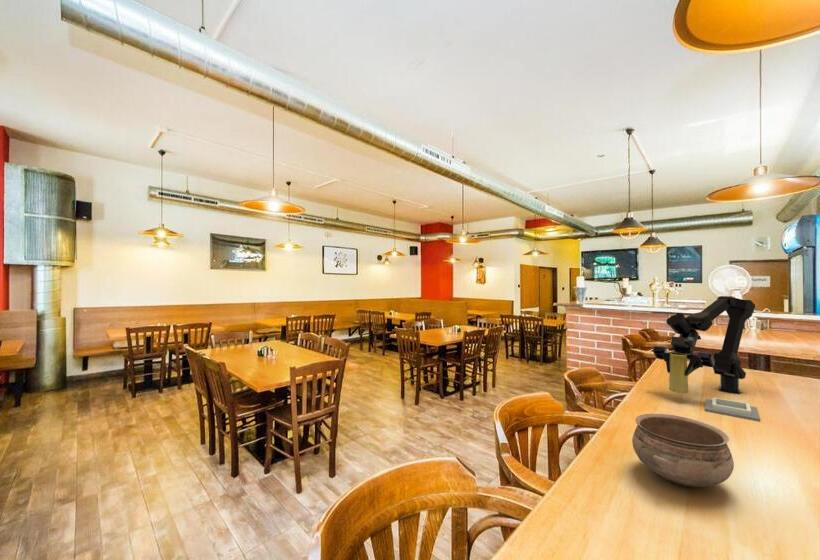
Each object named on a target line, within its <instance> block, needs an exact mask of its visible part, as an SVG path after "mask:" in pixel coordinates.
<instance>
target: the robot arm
mask: <svg viewBox="0 0 820 560" xmlns="http://www.w3.org/2000/svg"><path fill="white" fill-rule="evenodd" d="M755 310H756V304H755V303H754V302H753V301H752V300H750V299H743V298H738V297H735V296H728V295H721V296H718V297H717V299H716V300H714V301H713V302H712V303H711V304H709V305H707V307H705V308H704V309H703V310H701V311H700V312H695V313H692V314H689V315H687V316H686V317H685V315H684V314H683V312H676V314H673V315H671V316H669V317H668V318H667V319H666V321H665V322H666V324H667V325H668V326H669V328H670V329H671V330H672V331H673V332H674V333H675V334H677V335H678V336H671V340H670V346H672V347H671V348H672V350H669V349H668V348H667V347H666V346H660V345H654V346H653V348H652V353H653V355H654V356H655V358H656V359H657V360H663V361H664V362H665V365H666V371H667V373H670V353H673V352H676V353H684V354H686V355H687V360H689V362H688V363H687V369H686V373H685V375H686V376H688V377H689V375H690V374H692V373H693V372H695V371H696V370H697V369H699V368H703V367H708V368H712V370H713V373H714V375H719V378H720V385H719V386H718V390H719V391H720V392H728V393H734V394H738V395H740V394H741V389H740V388H739V387H740V385H739V383H740V380H744V379H745V378H746V376H747V375H746V374H747V373H746V372H745V370H744V369H743V368H742V366H741V363H742V361H741V359H740V357H739V355H738V353H739V348H740V344H741V341H742V335H743V332H744V329H745V324H746V323H745V322H747V320H748V319H750V318H751V317H752V316H753V314H754V311H755ZM724 312H726V315H728V318H729V319H728V322H727V327H726V331H725V335H724V340H723V343H722V346H721V350H720V351H719V352H714V354H712V353H711V352H705V351H698V352H697V354H694V352H696V344H697V343H698V342H697V341H698V340H702V338H701V335H700V334H699V332H698V331H701V332H706V331H708V330H709V329H710V328H711V327H712V326H713V321H714V320H715V319H716V318H717V317H719V316H720V315H721V314H723V313H724Z"/></svg>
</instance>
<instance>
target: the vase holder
mask: <svg viewBox="0 0 820 560" xmlns="http://www.w3.org/2000/svg"><path fill="white" fill-rule="evenodd" d="M704 412H708V413H714V414H719V415H723V416H724V415H725V416H729V417H734V418H740V419H745V420H751V421H756V422H761V418H760V414H759V410H758V407H757V406H751V405H750V403H748V402H743V401H737V400H732V399H725V398H719V397H713V396H712V399H710V398H705V404H704Z"/></svg>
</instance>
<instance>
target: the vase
mask: <svg viewBox="0 0 820 560" xmlns="http://www.w3.org/2000/svg"><path fill="white" fill-rule="evenodd" d="M687 367H688V359H687V355H686V354H684V353H676V352H673V353H670V372H669V374H668V375H669V377H668V381H669V382H668V384H669V385H668V390H669V391H671V392H674V393H677V394H678V393H679V394H688V393H689V382H688V381H689V380H688V379H689V378H688V377H689V375H688V376H686V375H685V373H686V369H687Z"/></svg>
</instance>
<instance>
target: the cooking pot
mask: <svg viewBox="0 0 820 560" xmlns="http://www.w3.org/2000/svg"><path fill="white" fill-rule="evenodd" d="M635 423H636V427H635V429H634V432H633V435H632V437H631V438H632V439H631V443H632V447H633V451H634V453H635V454H636V456H637V458H638V459H639V460H640V462H641V463H642V464H643V465H645V466H646V467H647V468H648V470H649V469H650V471H652V472H654V473H655V474H657V475H658V476H659V477H662V478H663V479H665V480H666V481H667V482H669V483H671V484H673V485H676V486H679V487H683V488H690V487H691V488H699V487H700V488H703V487H713V486H717V485H719V484H722V483H724V482H725V481H727V480H728V479H729V478H730V476H732V473H733V471H734V469H735V468H734V467H735V462H734V457H733V456H732V452H731V449H730V448H729V445H728V443H729V441H730V437H729V436H728V435H727V433H726V432H724V431H723V430H721V429H719V428H718V427H716V426H713V425H711V424H709V423H706V422H704V421H699V420H696V419H693V418H689V417H685V416H679V415H674V414H666V413H646V414H645V413H644V414H640V415H638V416H637V417H636V418H635Z"/></svg>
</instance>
